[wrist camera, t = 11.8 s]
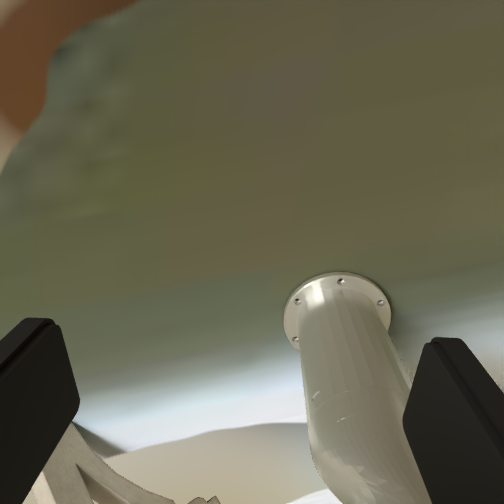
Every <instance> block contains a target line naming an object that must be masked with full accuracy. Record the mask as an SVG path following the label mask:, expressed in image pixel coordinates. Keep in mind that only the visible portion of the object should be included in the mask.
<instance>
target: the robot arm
mask: <svg viewBox="0 0 504 504" xmlns="http://www.w3.org/2000/svg"><path fill="white" fill-rule="evenodd" d="M341 278H342V279H341ZM339 279H340V280H339ZM283 317H284V328H285V333H286V335H287V337H288V339H289V341H290V342H291V343H292V345H293V346H294V347H295V348H296V349H297V350H299V351H300V358H301V368H302V377H303V386H304V396H305V405H306V415H307V424H308V435H309V443H310V450H311V455H312V459H313V462H314V465H315V467H316V469H317V471H318V473H319V475H320V477H321V479H322V480H323V482H324V483H325V484H326V486H327V487H328V488H329V490H330V491H331V492H332V493H333V494H334V495H335V496H336V497H337V498H338V499H339V500H340V502H342V503H343V504H504V393H503V392H502V391H501V390H500V388H499V387H498V386H497V384H496V383H495V382H494V380H493V379H492V378H491V376H490V375H489V374H488V373H487V371H486V370H485V369H484V367H483V366H482V365H481V363H480V362H479V361H478V360H477V358H476V357H475V356H474V354H473V353H472V352H471V350H470V349H469V348H468V346H467V345H466V344H465V343H464V342H463V341H462V340H461V339H459V338H443V337H435V338H433V339H432V340H431V342H430V343H426V344H425V345H424V347H423V351H422V354H421V357H420V361H419V364H418V367H417V371H416V374H415V377H414V381H413V384H412V382H411V380H410V378H409V376H408V374H407V372H406V370H405V368H404V366H403V364H402V362H401V359H400V357H399V355H398V353H397V351H396V349H395V347H394V345H393V343H392V341H391V339H390V337H389V335H388V333H387V332H388V329H389V326H390V323H391V311H390V305H389V303H388V301H387V299H386V297H385V295H384V294H383V292H382V290H381V289H380V288H379V287H378V286H377V285H376V284H375V283H373V282H372V281H370V280H369V279H367V278H365V277H363V276H360V275H358V274H353V273H349V272H331V273H325V274H322V275H318V276H315V277H313V278H311V279H309V280H307V281H306V282H304V283H303V284H301V285H300V286H299V287H298V288H297V289H296V290H295V291H294V292H293V293H292V295H291V296H290V298H289V299H288V301H287V304H286V306H285V310H284V316H283ZM79 404H80V397H79V394H78V390H77V386H76V383H75V379H74V375H73V372H72V368H71V364H70V361H69V357H68V353H67V350H66V346H65V342H64V339H63V335H62V331H61V328H60V326H59V325H55V322H54V321H53V320H52V319H49V318H25V319H24V320H22V321H21V322H20V323H19V324H18V325H17V326H16V327H15V328H13V329H12V330H11V331H10V332H9V333H8V334H7V335H6V336H5V337H4V338H3V339H2V340H1V341H0V504H22V503H23V501H24V500H25V498H26V496H27V495H28V493H29V491H30V490H31V488H32V486H33V485H34V483H35V481H36V480H37V478H38V477H39V475H40V473H41V472H42V470H43V468H44V467H45V465H46V463H47V462H48V460H49V458H50V457H51V455H52V453H53V452H54V450H55V448H56V447H57V445H58V443H59V442H60V440H61V438H62V437H63V435H64V433H65V432H66V430H67V428H68V427H69V425H70V423H71V422H72V420H73V418H74V417H75V415H76V413H77V411H78V408H79Z"/></svg>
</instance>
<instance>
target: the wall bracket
mask: <svg viewBox="0 0 504 504" xmlns="http://www.w3.org/2000/svg"><path fill="white" fill-rule="evenodd" d="M31 490H32V492H33V495H34V497H35V500H36V502H37V504H94V503H93V500H94V501H95V502H97V503H98V504H175V503H174V501H173V500H171V499H168V498H165V497H162V496H159V495H157V494H154V493H152V492H149V491H146V490H144V489H143V488H141V487H139V486H138V485H136V484H134V483H133V482H131V481H129V480H127V479H126V478H124V477H122V476H121V475H119V474H117V473H116V472H115V471H114V470H113V469H111V468H110V467H109V466H108V465H107V464H106V463H105V462H104V461H103V460H102V459H101V458H100V457H98V456H97V455H96V454H95V453H94V452H93V451H92V450H91V449H90V447H89V446H88V445H87V443H86V442H85V440H84V439H83V437H82V436H81V435H80V433H79V432H78V430H77V429H76V427H75V426H74V425H73V423H72V422H71V423H70V425H69V427H68V428H67V430H66V432H65V433H64V435H63V437H62V438H61V440H60V442H59V443H58V445H57V447H56V448H55V450H54V452H53V453H52V455H51V457H50V458H49V460H48V462H47V463H46V465H45V467H44V468H43V470H42V472H41V473H40V475H39V477H38V478H37V480H36V481H35V483H34V485H33V486H32V488H31ZM92 499H93V500H92ZM188 504H220V502H219V500H218V499H217V497H216V496H214V497H212V498H211V499H210V500H209V501H207V502H206V501H205V500H204V498H200V497H198V498H195V499H193V500H192V501H191V502H189V503H188Z"/></svg>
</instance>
